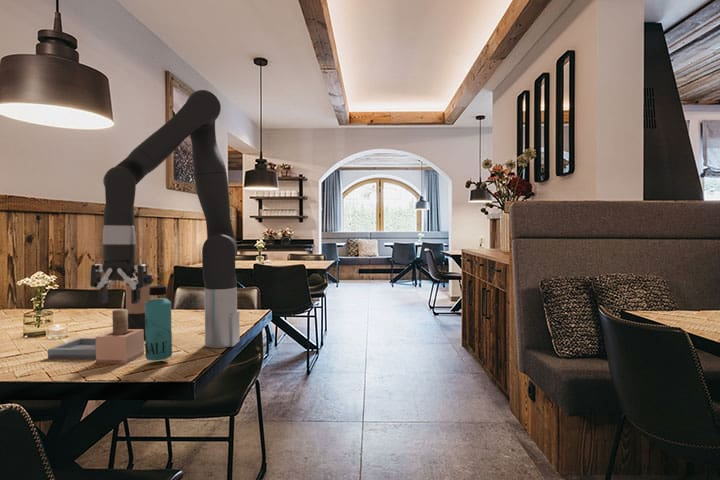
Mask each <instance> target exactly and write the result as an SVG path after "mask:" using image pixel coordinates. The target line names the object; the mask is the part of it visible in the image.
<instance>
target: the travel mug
mask: <svg viewBox="0 0 720 480" xmlns="http://www.w3.org/2000/svg"><path fill="white" fill-rule="evenodd" d="M147 275H148V286H145V287H142V288H141V290H140V301H139V302H138V303H136V304H132V303H131V290H133V289H132V288H131V286H130V285H129V284H128V283H126V282H125V309H127V310H128V329H144V341H145V324H144V323H145V322H144V319H145V304H146V302H147V301H149V300H150V299H154V295H149V292H150V287H153V284H154V283H153V275H151V274H147ZM136 277H137V279H138V276H136Z"/></svg>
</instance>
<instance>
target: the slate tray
mask: <svg viewBox="0 0 720 480" xmlns="http://www.w3.org/2000/svg"><path fill="white" fill-rule="evenodd" d="M47 359H48V360H49V359H50V360H52V359H54V360H57V359H58V360H62V359H68V360H72V359H74V360H75V359H76V360H83V359H84V360H89V359H90V360H92V359H93V360H96V337H79V338H76V339H73V340H70V341H68V342H65V343H61V344H59V345H56V346H53V347H51V348H48V349H47Z"/></svg>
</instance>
